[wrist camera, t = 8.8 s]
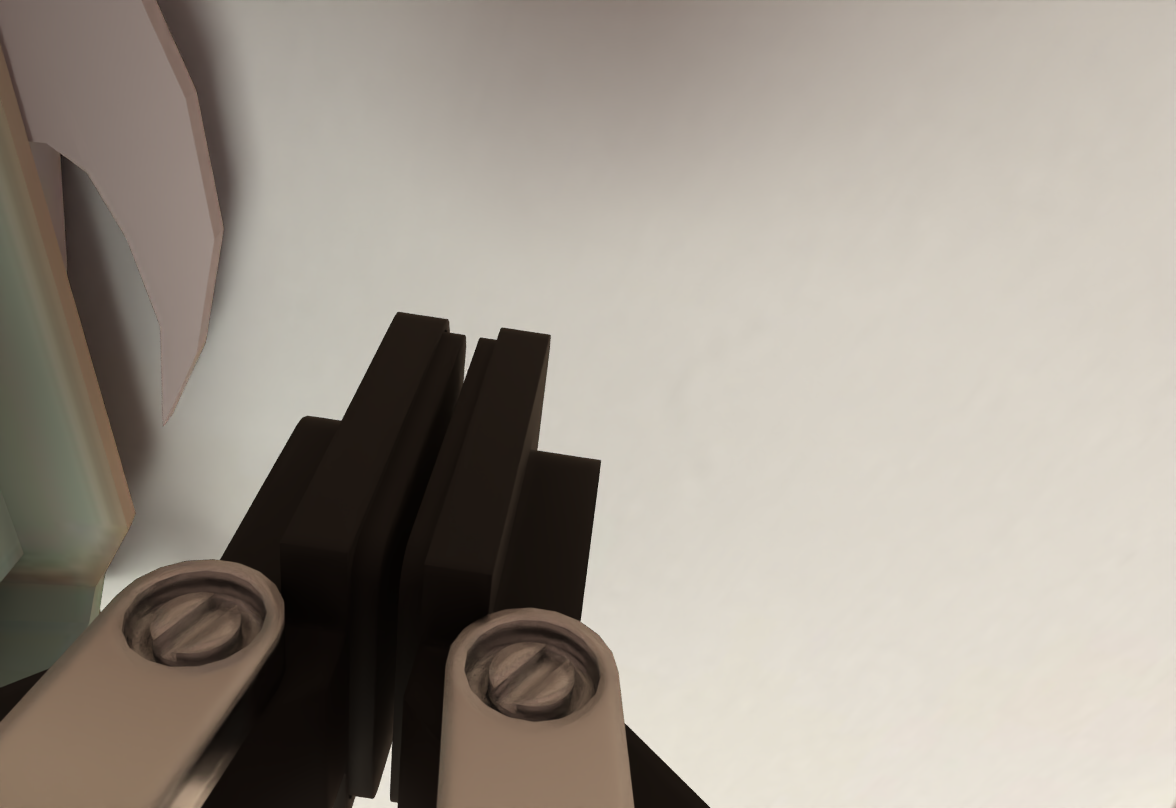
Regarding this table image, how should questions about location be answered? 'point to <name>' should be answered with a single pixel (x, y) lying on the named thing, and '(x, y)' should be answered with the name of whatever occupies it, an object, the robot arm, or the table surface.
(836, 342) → the table surface
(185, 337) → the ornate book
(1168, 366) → the table surface
